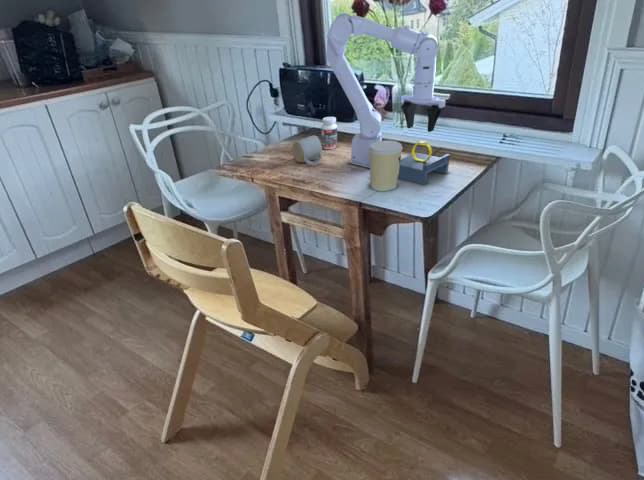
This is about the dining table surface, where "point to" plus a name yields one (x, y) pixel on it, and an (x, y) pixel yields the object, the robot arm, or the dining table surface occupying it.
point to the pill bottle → (329, 133)
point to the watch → (422, 142)
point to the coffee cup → (384, 164)
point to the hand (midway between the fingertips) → (420, 129)
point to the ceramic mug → (308, 150)
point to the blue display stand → (422, 167)
